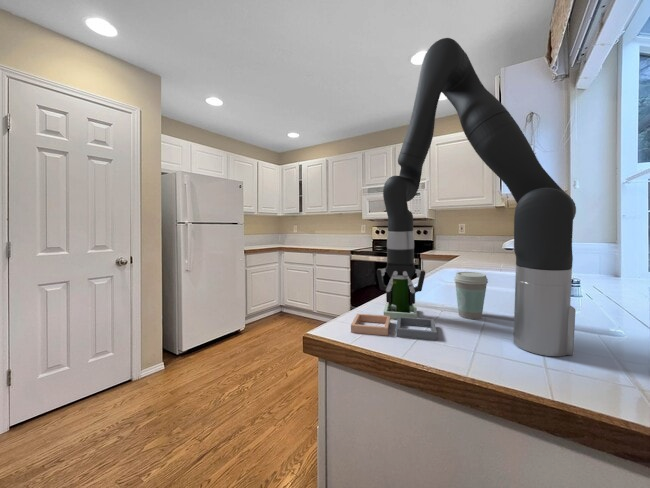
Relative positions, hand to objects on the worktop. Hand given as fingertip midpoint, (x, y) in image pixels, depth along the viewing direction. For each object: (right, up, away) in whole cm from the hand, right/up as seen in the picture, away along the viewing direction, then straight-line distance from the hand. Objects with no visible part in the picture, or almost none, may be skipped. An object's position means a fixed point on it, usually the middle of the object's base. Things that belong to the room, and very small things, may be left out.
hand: (400, 304), depth 82 cm
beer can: (0, -3, 0) cm, 3 cm away
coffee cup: (+19, -3, -2) cm, 19 cm away
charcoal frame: (0, -4, -12) cm, 13 cm away
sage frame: (0, -3, 0) cm, 3 cm away
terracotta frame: (-10, -4, -9) cm, 14 cm away
